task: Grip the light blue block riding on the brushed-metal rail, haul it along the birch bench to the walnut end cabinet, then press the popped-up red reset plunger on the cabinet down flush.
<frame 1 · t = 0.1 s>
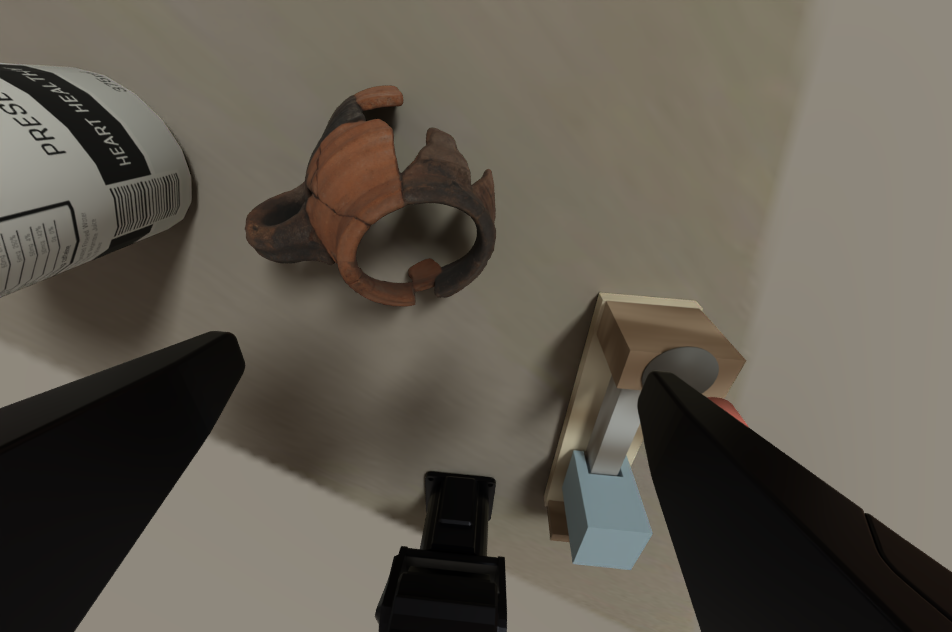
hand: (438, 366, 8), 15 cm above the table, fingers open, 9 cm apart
supplement can: (129, 155, 21), on the table
pottery mug: (391, 191, 21), on the table
light blue block: (600, 507, 28), point 4 cm above the table, slide at 0.0 cm
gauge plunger: (716, 435, 15), point 10 cm above the table, slide at 2.5 cm
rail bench: (604, 418, 29), on the table
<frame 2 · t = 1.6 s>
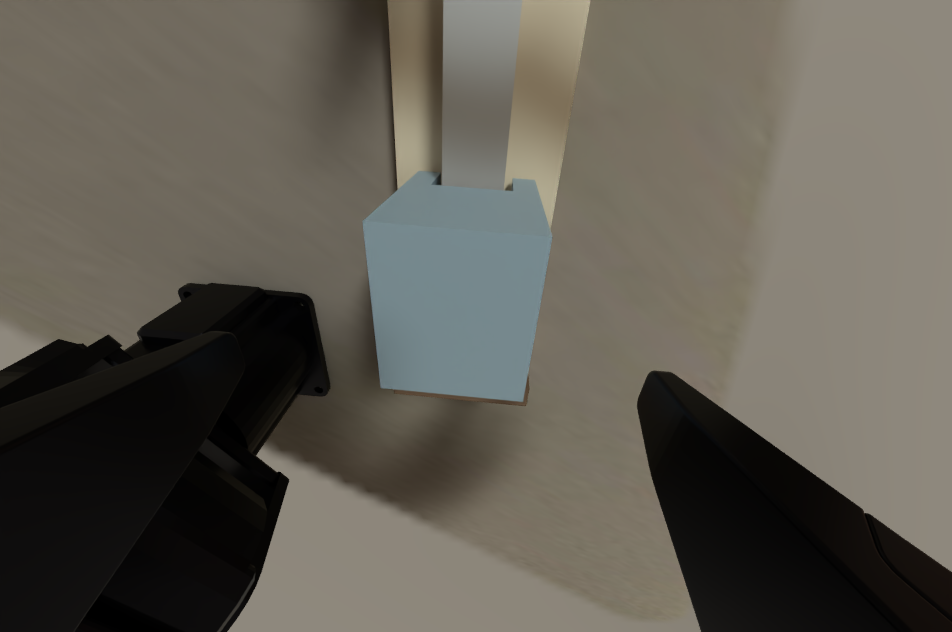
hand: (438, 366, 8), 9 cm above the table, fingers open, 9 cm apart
light blue block: (465, 273, 12), point 4 cm above the table, slide at 0.0 cm
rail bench: (483, 93, 13), on the table
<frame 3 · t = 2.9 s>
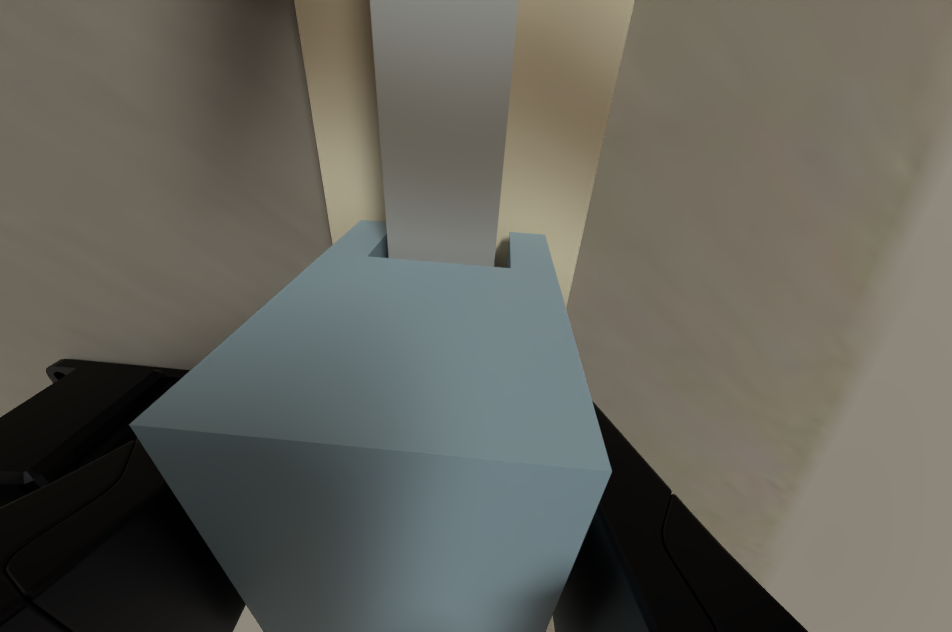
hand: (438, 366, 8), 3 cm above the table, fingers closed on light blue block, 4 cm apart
light blue block: (430, 402, 7), point 4 cm above the table, slide at 0.0 cm, touching gripper
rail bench: (462, 98, 8), on the table
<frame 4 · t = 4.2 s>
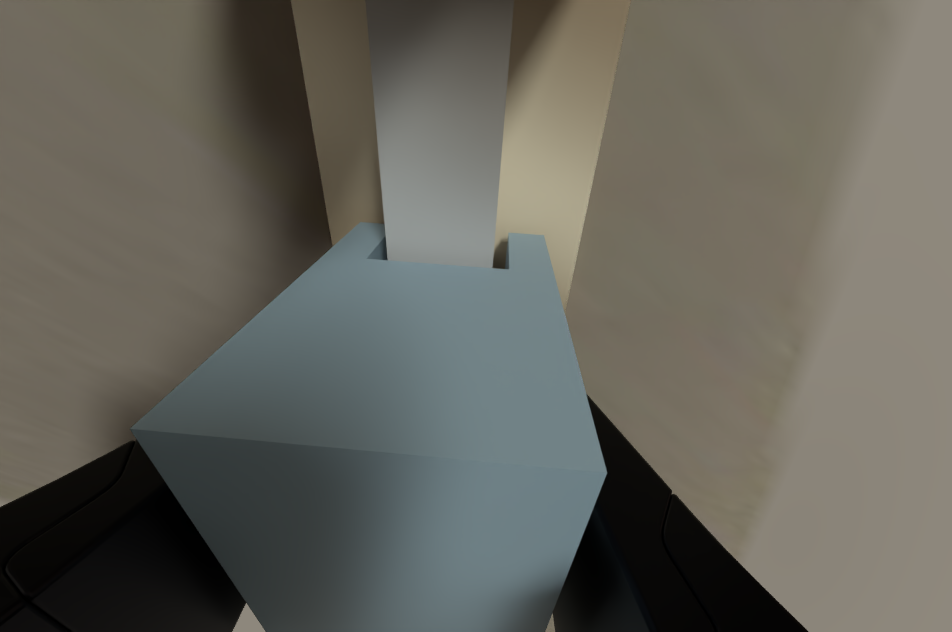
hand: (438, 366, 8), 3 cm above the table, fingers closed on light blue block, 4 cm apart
light blue block: (429, 404, 7), point 4 cm above the table, slide at 5.2 cm, touching gripper
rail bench: (455, 303, 11), on the table
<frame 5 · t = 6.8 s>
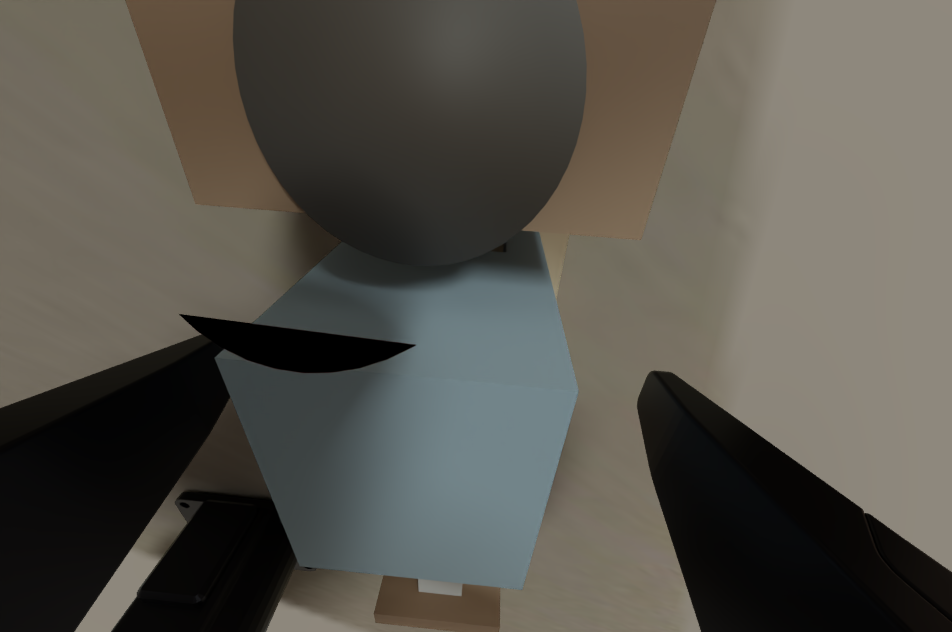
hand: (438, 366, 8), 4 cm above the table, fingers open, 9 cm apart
light blue block: (436, 370, 8), point 4 cm above the table, slide at 9.6 cm
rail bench: (453, 390, 14), on the table
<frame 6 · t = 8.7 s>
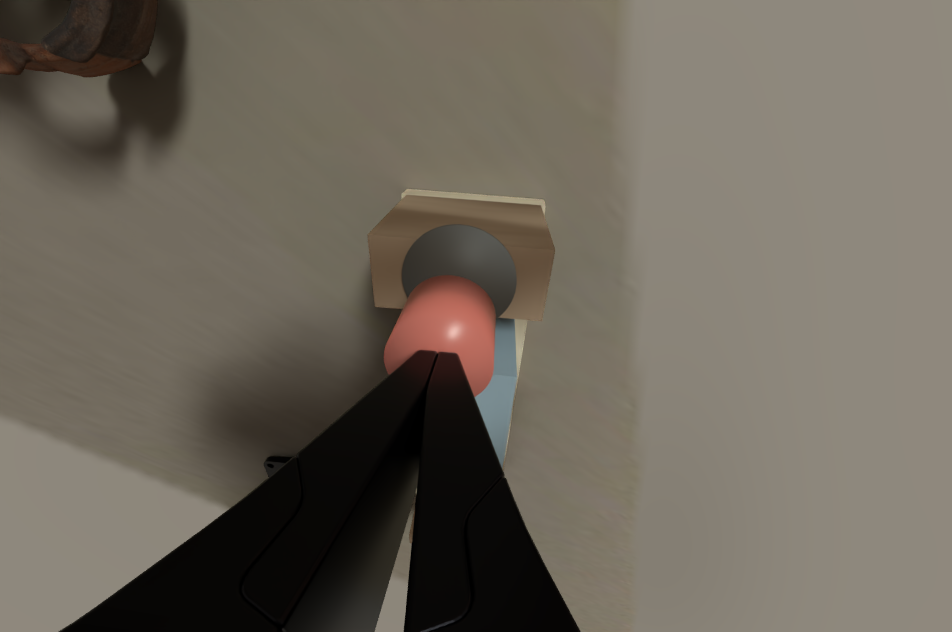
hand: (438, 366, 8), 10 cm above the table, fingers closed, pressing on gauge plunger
light blue block: (459, 369, 16), point 4 cm above the table, slide at 9.6 cm
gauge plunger: (445, 338, 9), point 9 cm above the table, slide at 1.9 cm, touching gripper
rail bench: (464, 382, 22), on the table
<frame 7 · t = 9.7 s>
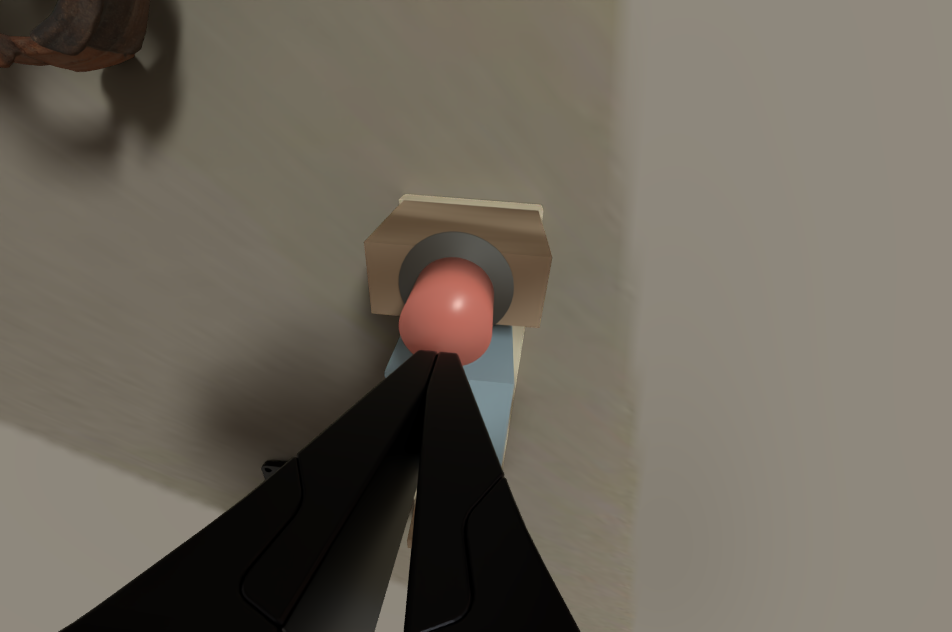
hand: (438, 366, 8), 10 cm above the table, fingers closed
light blue block: (456, 375, 15), point 4 cm above the table, slide at 9.6 cm
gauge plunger: (450, 311, 10), point 7 cm above the table, slide at 0.2 cm
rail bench: (462, 386, 22), on the table
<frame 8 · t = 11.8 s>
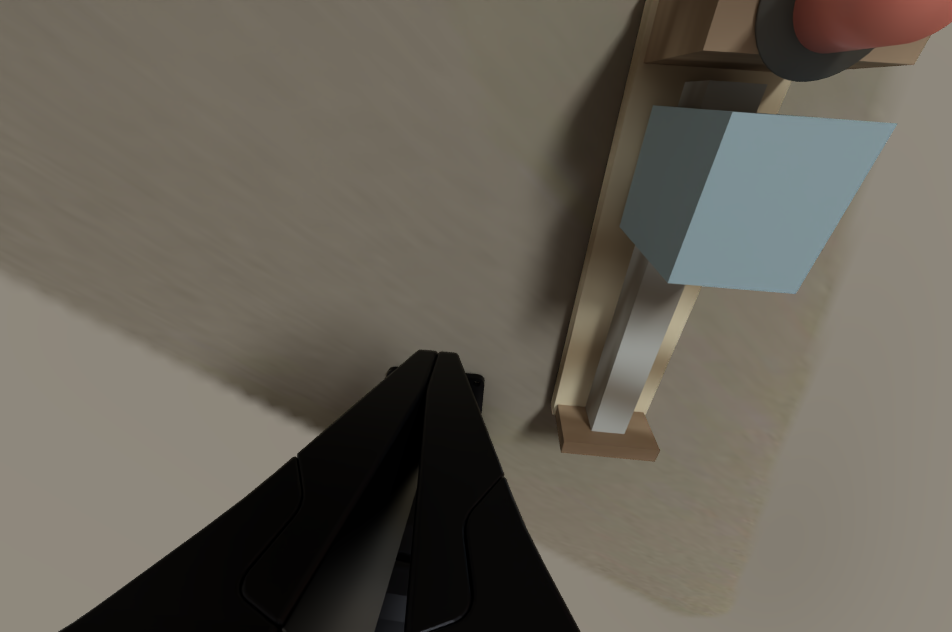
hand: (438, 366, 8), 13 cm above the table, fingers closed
light blue block: (717, 190, 13), point 4 cm above the table, slide at 9.6 cm
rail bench: (641, 261, 19), on the table
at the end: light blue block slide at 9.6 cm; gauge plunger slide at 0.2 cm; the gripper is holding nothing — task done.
